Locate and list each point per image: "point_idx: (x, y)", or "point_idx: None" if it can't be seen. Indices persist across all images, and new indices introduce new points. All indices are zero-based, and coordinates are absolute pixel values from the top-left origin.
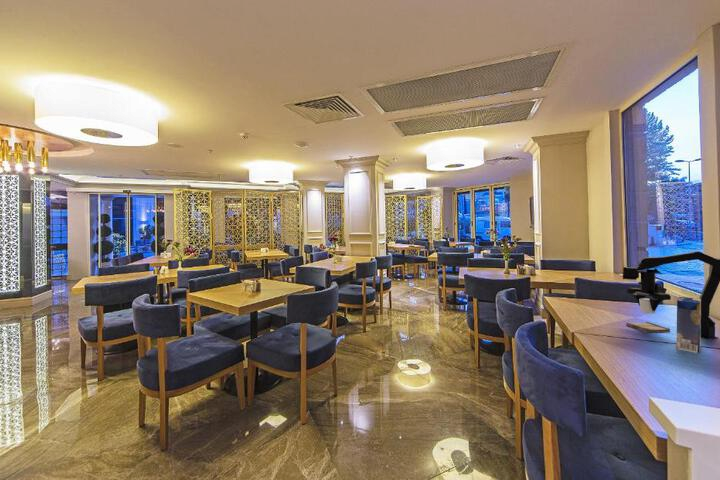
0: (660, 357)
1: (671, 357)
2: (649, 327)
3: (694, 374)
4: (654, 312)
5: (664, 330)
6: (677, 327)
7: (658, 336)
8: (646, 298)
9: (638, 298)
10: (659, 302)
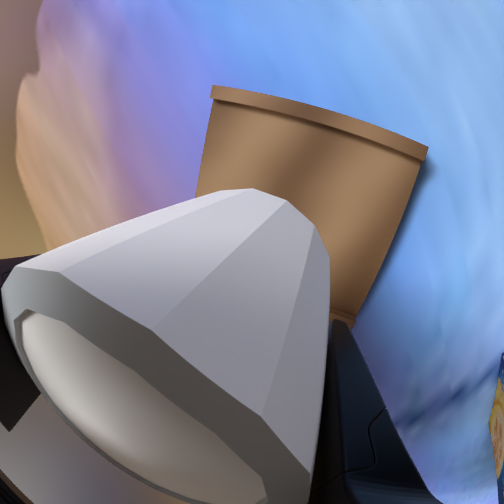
0: (447, 485)
1: (469, 473)
2: (320, 235)
3: (493, 490)
4: (329, 278)
5: (409, 194)
6: (500, 500)
7: (419, 336)
8: (15, 317)
9: (33, 382)
10: (415, 486)
